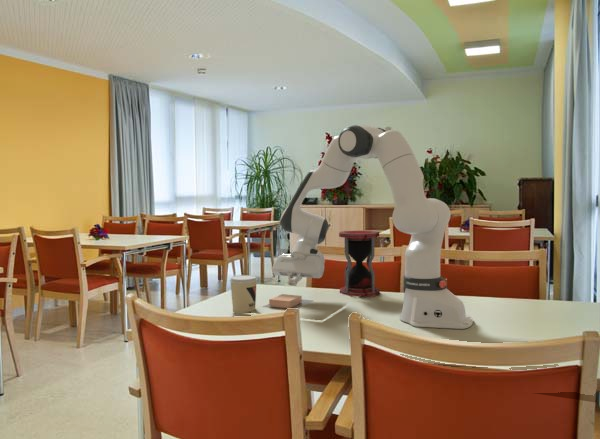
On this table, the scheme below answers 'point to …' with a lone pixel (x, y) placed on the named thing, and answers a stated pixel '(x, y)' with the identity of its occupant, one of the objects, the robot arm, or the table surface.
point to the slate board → (293, 306)
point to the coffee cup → (243, 293)
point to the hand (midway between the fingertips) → (291, 284)
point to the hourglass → (359, 263)
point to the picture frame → (285, 301)
